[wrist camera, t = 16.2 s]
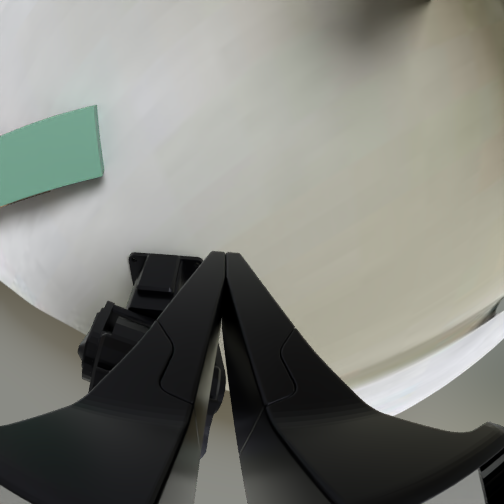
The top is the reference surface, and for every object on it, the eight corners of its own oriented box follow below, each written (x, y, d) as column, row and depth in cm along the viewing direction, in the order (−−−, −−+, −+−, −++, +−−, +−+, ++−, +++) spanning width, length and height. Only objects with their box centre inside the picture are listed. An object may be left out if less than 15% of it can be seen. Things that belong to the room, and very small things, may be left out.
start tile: (93, 106, 13) (-16, 144, 10) (102, 176, 16) (-1, 207, 13) (96, 104, 15) (-6, 138, 12) (104, 168, 18) (7, 197, 14)
